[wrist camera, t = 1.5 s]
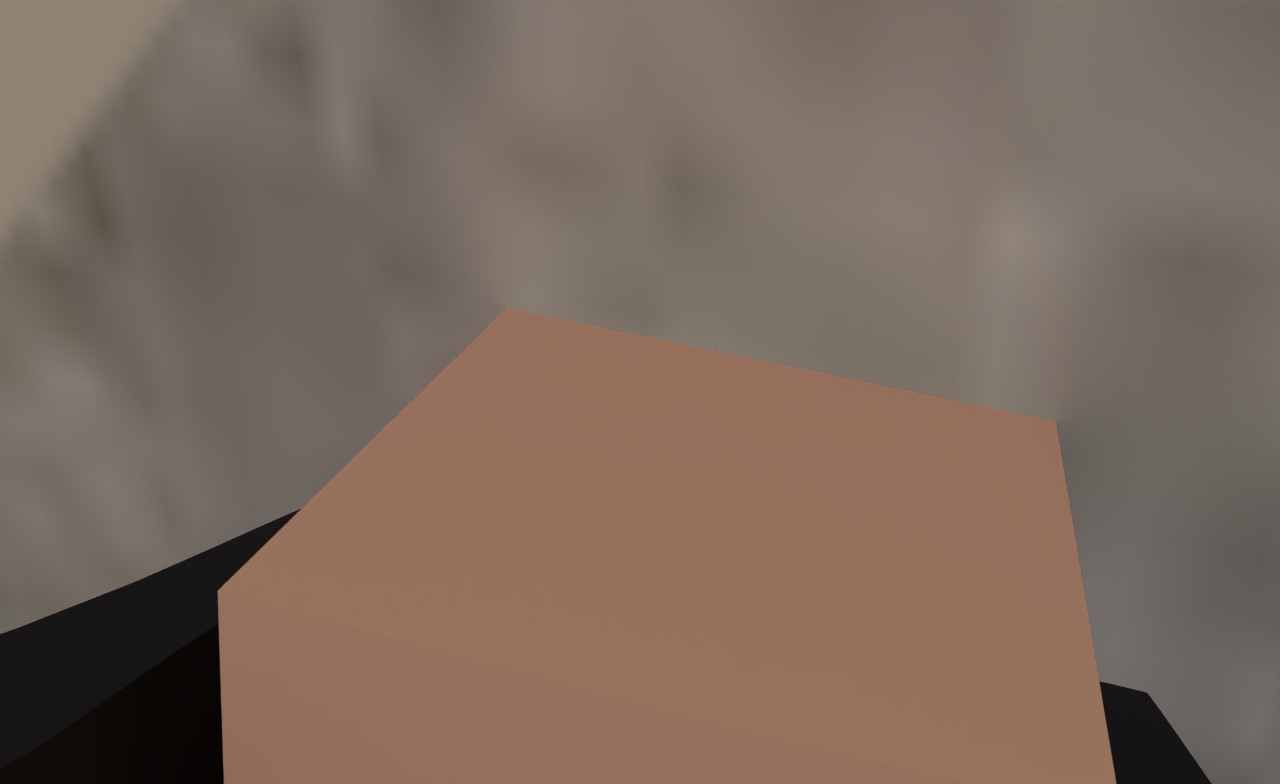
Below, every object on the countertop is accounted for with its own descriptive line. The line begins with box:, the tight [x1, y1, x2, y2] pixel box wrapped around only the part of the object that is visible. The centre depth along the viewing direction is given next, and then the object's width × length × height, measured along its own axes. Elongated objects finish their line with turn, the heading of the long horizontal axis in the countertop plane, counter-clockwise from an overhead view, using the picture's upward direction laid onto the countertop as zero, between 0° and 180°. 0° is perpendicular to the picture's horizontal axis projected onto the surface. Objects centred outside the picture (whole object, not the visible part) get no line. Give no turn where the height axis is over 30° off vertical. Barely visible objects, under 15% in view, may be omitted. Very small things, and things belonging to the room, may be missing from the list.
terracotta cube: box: [218, 308, 1116, 784], centre depth 10 cm, size 5×5×5 cm
